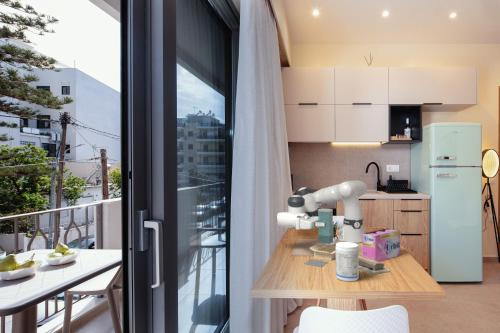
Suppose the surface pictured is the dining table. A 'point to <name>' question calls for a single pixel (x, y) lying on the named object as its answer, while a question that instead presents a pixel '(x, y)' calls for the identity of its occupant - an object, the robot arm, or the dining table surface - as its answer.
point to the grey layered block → (371, 265)
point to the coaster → (316, 263)
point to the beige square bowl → (324, 252)
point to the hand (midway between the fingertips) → (327, 223)
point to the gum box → (381, 244)
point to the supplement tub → (347, 261)
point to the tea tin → (325, 231)
